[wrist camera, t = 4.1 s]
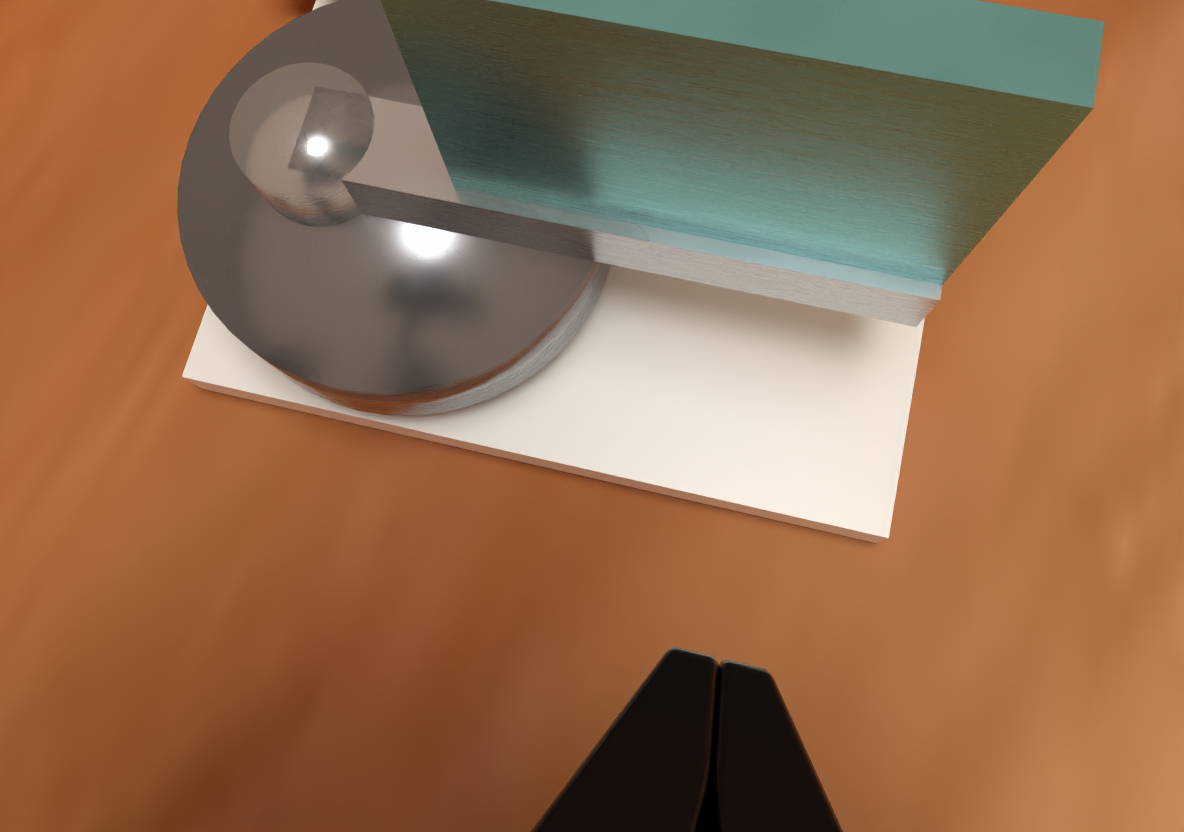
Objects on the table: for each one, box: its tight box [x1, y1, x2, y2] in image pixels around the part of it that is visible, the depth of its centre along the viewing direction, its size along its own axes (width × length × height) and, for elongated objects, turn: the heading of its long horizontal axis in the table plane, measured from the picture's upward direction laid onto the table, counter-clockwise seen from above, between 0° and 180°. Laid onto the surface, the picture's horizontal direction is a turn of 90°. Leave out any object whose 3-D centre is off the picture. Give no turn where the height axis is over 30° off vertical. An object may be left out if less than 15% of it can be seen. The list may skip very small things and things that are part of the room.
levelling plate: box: [182, 0, 925, 543], centre depth 21 cm, size 17×12×3 cm
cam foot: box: [177, 0, 1104, 416], centre depth 16 cm, size 15×9×9 cm, turn 76°
